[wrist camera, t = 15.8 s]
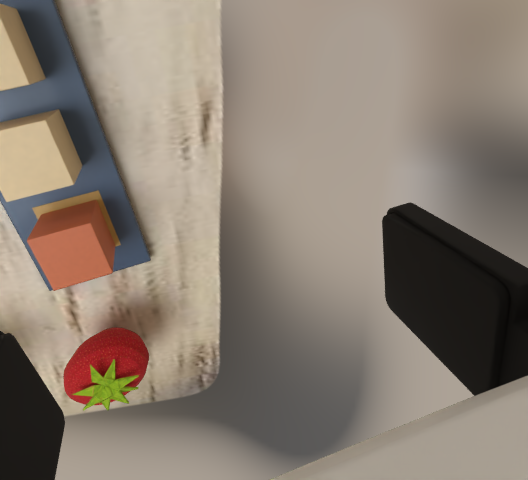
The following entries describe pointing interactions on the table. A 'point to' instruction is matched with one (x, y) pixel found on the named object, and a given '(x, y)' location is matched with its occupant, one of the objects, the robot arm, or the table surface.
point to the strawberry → (106, 367)
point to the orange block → (73, 245)
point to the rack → (54, 133)
